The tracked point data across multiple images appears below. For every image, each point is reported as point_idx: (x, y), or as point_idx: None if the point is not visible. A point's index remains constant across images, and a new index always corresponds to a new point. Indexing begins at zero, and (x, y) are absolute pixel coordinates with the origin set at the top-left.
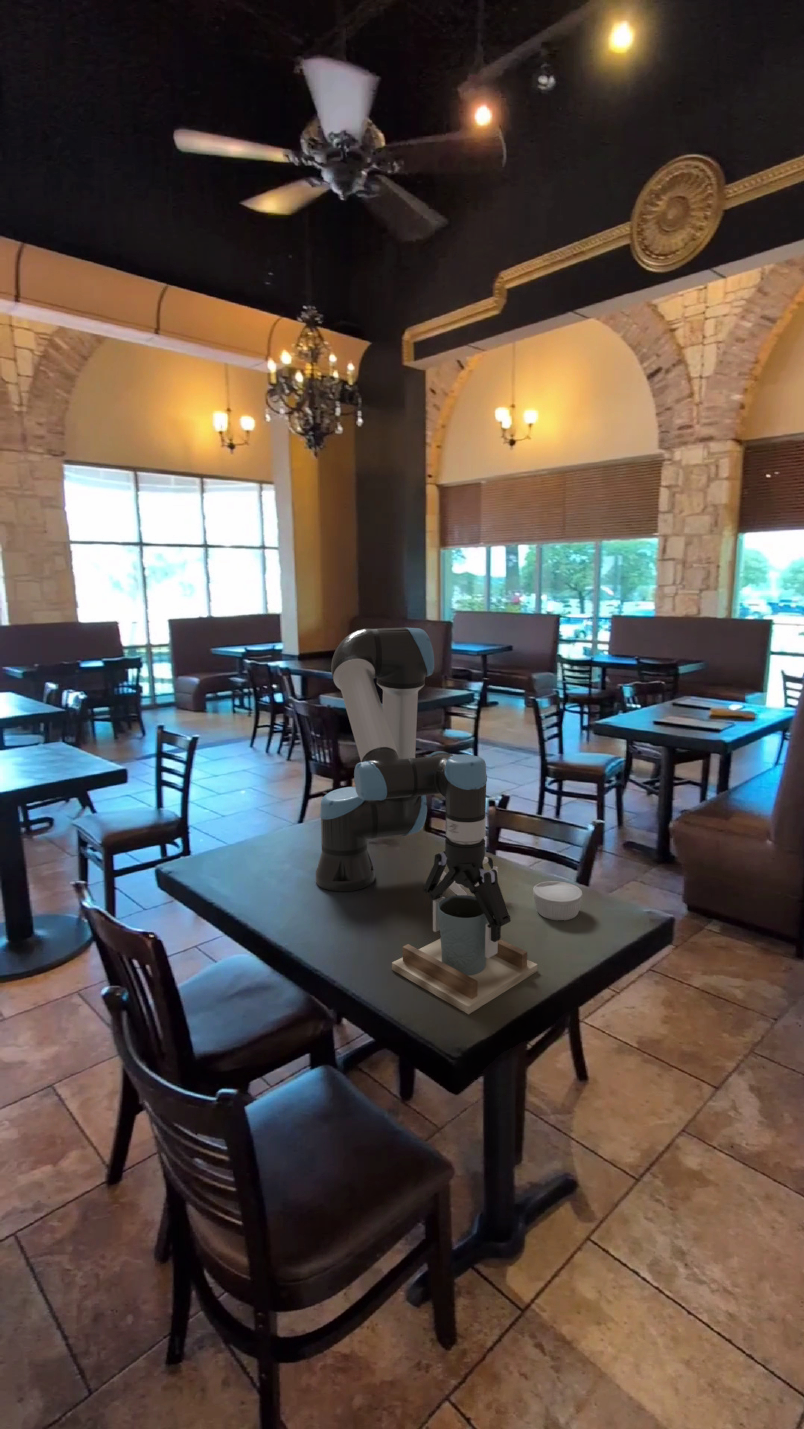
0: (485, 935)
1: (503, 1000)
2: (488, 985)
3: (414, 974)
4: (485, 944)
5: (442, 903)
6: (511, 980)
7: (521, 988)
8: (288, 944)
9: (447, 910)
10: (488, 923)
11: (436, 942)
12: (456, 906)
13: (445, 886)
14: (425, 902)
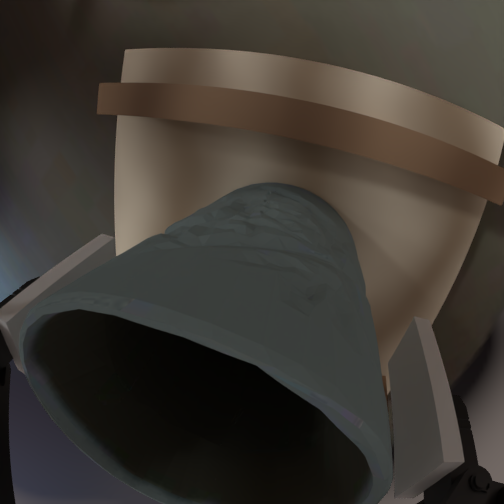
0: (394, 444)
1: (442, 321)
2: (400, 327)
3: None
4: (392, 406)
5: (64, 411)
6: (458, 271)
7: (477, 247)
8: None
9: (89, 357)
10: (408, 491)
11: (122, 188)
12: (82, 316)
13: (3, 470)
14: (8, 17)
